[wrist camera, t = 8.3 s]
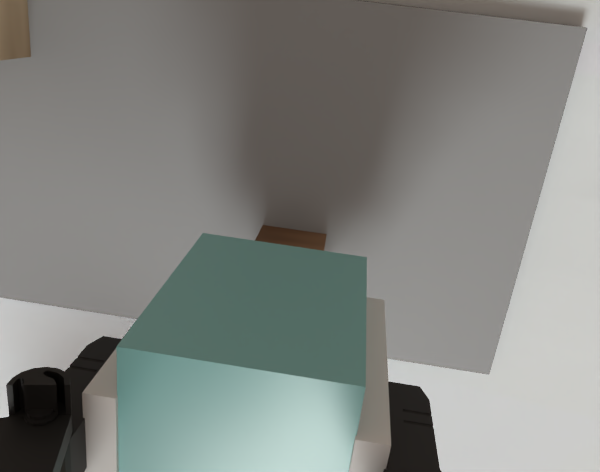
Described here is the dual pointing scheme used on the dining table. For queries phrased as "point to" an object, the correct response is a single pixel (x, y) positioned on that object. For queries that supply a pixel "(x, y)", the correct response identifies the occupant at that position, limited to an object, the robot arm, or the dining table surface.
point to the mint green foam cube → (246, 362)
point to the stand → (282, 151)
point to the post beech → (14, 29)
